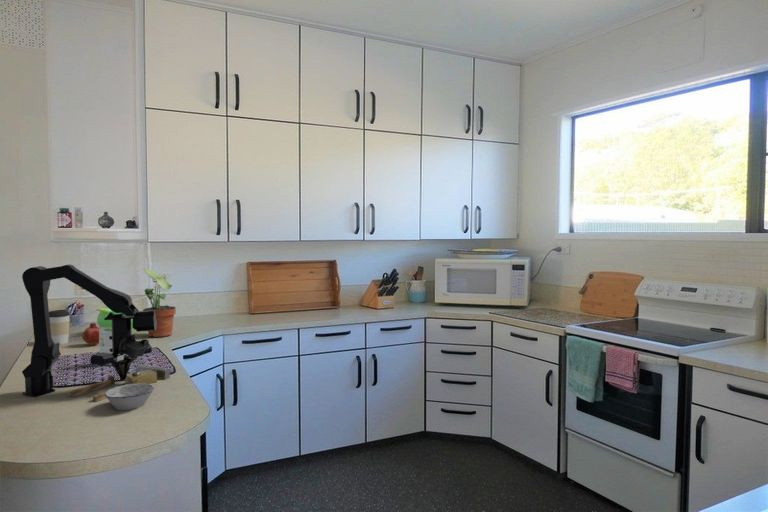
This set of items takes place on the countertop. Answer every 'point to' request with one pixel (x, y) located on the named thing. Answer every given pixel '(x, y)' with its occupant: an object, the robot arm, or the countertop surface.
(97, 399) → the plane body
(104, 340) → the ink box
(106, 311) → the toy bird
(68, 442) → the countertop surface
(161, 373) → the bench stop
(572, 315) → the countertop surface
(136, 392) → the bowl
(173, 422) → the countertop surface
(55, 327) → the coffee cup
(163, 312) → the potted plant
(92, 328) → the fruit
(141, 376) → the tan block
